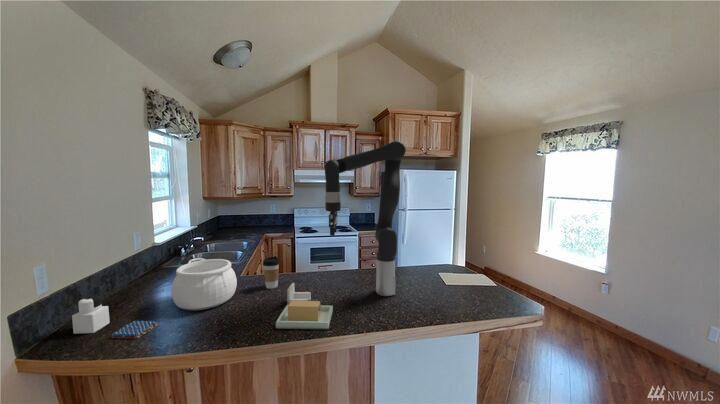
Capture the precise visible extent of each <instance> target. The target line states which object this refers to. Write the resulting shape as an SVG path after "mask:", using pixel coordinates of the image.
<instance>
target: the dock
mask: <svg viewBox="0 0 720 404" xmlns="http://www.w3.org/2000/svg"><path fill="white" fill-rule="evenodd" d="M295 286H296V285H295V282H292V283H291V284H290V285H289V287H288V288H287V289H286V296H287V297H286V301H287V305H289V304H290V302H291V301H312V299H311V297H312V296H311V295H312V294H311V293H312V292H309V291H304V292H302V291H301V292H300V291H295V290H296V289H295Z"/></svg>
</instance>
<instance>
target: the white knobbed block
mask: <svg viewBox="0 0 720 404" xmlns="http://www.w3.org/2000/svg"><path fill="white" fill-rule="evenodd" d="M109 311H110V310H109V305H102V296H100V295H92V296H87V297H83V298H82V299H80V300H79V301H78V312H76V313H74V314H72V315H71V319H72V330H73V331H72V332H73V334H75V335H77V334H94V333H96V332H98V331H99V330H101V329H103V328H104V327H106V326H107V325H108V324H110V312H109Z"/></svg>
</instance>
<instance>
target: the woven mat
mask: <svg viewBox="0 0 720 404" xmlns="http://www.w3.org/2000/svg"><path fill="white" fill-rule="evenodd" d="M158 325H159V321H158V320H134V321H131V322H130V323H128V324H126V325H124V326H123V327H121V328H120V329H118V330H117V331H115V332H113V333H112V334H111V335H110V338H112V339H137V340H138V339H139V338H140V337H142V336H143V335H145V334H146V333H147V332H150V331H151V330H152V329H154V327H157V326H158Z"/></svg>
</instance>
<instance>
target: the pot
mask: <svg viewBox="0 0 720 404" xmlns="http://www.w3.org/2000/svg"><path fill="white" fill-rule="evenodd" d="M237 285H238V280H237V276H236V273H235V271H234V269H233V268H232V262H231V260H227V259H223V258H211V259H205V258H202V257H195V258H193V259H190V260H189V261H188V262H187V263H185V264H183V265H180V266H179V267H178V268H177V269H176V271H175V278H174V279H173V283H172V284H171V291H170V292H171V298H172V301H173V303H174V304H175V305H176V306H177V307H178V308H180V309H181V310H184V311H185V310H186V311H203V310H207V309H211V308H212V309H213V308H215V307H218V306H221V305H222V304H224V303H226V302H228V301H230V299H231V298H232V297H233V296H234V295H235V292H236V289H237Z"/></svg>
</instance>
